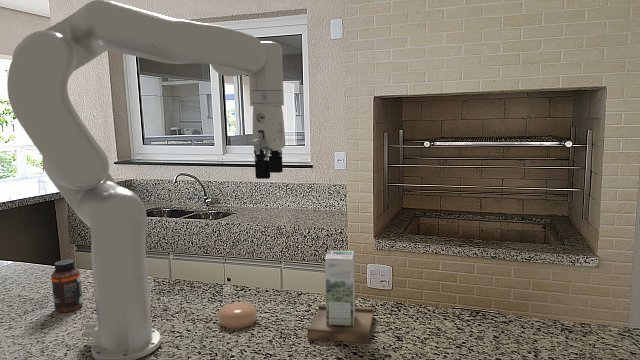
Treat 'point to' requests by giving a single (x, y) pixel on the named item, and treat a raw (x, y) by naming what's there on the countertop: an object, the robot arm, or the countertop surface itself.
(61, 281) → the supplement bottle
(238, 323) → the peach smooth rounded part
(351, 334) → the brown flat square block
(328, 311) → the syrup box
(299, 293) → the countertop surface
